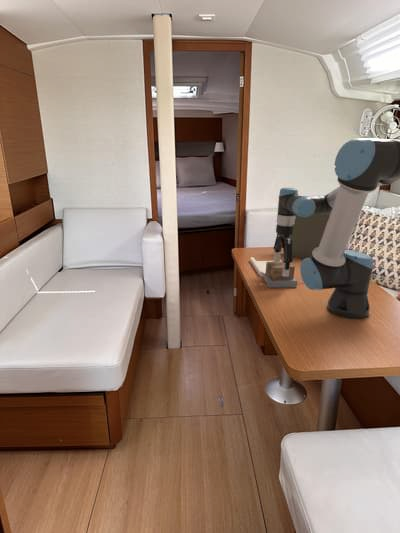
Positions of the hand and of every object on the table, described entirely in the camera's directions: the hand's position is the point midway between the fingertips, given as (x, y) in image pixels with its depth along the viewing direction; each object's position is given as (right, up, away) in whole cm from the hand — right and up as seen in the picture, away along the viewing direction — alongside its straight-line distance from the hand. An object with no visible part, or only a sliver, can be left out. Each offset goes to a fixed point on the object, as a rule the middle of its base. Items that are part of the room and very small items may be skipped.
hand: (280, 270), depth 165 cm
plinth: (0, -6, +2) cm, 6 cm away
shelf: (-2, 0, +18) cm, 18 cm away
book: (+23, +7, +40) cm, 47 cm away
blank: (-1, -3, +1) cm, 3 cm away
